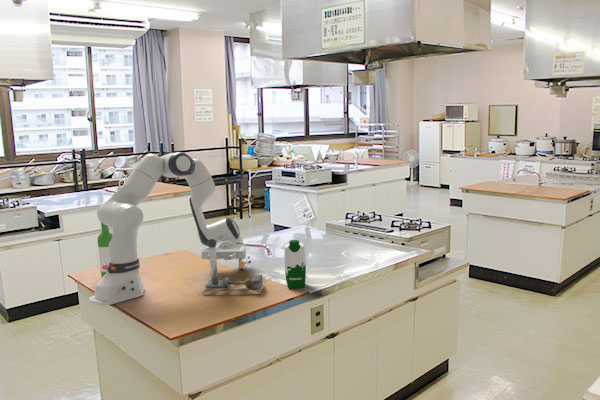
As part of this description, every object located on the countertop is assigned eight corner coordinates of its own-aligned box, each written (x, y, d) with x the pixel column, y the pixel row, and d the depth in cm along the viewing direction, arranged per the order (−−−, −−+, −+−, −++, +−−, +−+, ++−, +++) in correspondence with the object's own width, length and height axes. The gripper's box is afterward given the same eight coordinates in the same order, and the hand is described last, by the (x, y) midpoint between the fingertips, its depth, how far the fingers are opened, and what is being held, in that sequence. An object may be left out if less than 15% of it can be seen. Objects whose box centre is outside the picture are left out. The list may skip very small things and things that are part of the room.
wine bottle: (108, 274, 240) (101, 213, 236) (122, 274, 238) (115, 213, 234) (97, 279, 233) (91, 216, 228) (112, 279, 231) (105, 216, 226)
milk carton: (285, 289, 205) (283, 242, 202) (285, 283, 214) (283, 238, 211) (307, 288, 205) (304, 241, 202) (306, 282, 214) (304, 237, 211)
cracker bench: (202, 294, 203) (201, 282, 203) (209, 287, 213) (208, 274, 212) (259, 294, 201) (259, 281, 200) (264, 286, 210) (263, 274, 210)
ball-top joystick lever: (205, 289, 204) (201, 241, 201) (210, 284, 211) (207, 237, 208) (226, 289, 203) (223, 240, 200) (231, 283, 210) (227, 236, 207)
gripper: (205, 243, 231) (196, 251, 217) (248, 243, 228) (241, 250, 215) (206, 257, 232) (197, 265, 218) (249, 256, 229) (242, 264, 216)
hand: (219, 258), depth 216 cm, fingers open, 8 cm apart
